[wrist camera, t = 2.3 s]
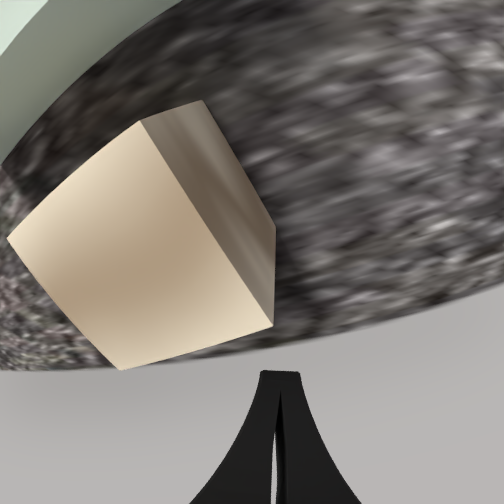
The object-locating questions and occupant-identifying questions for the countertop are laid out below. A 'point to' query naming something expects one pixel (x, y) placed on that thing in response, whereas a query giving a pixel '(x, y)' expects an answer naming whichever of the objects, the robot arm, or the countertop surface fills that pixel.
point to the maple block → (156, 242)
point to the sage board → (56, 51)
